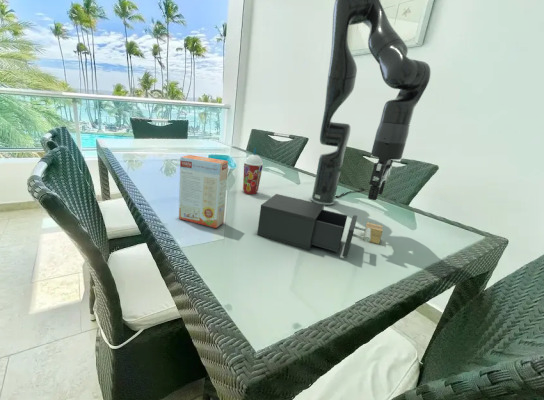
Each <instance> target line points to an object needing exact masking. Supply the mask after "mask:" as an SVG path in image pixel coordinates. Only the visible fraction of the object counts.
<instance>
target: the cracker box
mask: <svg viewBox="0 0 544 400" xmlns="http://www.w3.org/2000/svg"><path fill="white" fill-rule="evenodd" d="M179 160H180V161H179V197H178V198H179V201H178V202H179V203H178V219H180V220H183V221H186V222H190V223H194V224H198V225H202V226H206V227H209V228H212V229H217V228H219V227H220V226H221V225H223V224H224V221H225V209H226V195H227V185H228V184H227V181H228V168H229V161H228V160H224V159H220V158H219V159H218V158H212V157H207V156H200V155H193V154H187V155H184V156H180V157H179Z"/></svg>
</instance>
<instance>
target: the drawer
mask: <svg viewBox="0 0 544 400" xmlns="http://www.w3.org/2000/svg"><path fill="white" fill-rule="evenodd" d="M347 219H348V215H347V214H344V213H339V212H335V211H330V210H326V209H324V210H322V211H321V213H320V214H319V216H318V217H317V219H316V221H315V226H314V231H313V236H312V240H311V245H312V246H314V247H318V248H322V249H325V250H329V251H332V252H335V253H338V252H339V248H340V245H341V242H342V240H343V236H344V231H345V228H346V223H347ZM357 220H358V215H355V214H353V215H352V217H351V220H350V224H349V228H348V231H347V236H346V239H345V244H344V246H343V247H344V248H343V252H342V255H341V256H342V257H344V258H348V255H349V251H350V248H351V243H352V240H353V238H358V239H361V240H363V239H364V240H363V241H364V242H365V243H368V242H369V241H370V236H371V229H370V228H366V229H365V228H364V227H361V226H357V225H356V224H357ZM355 230H358V231H363V232H364V231H365V234H364V233H363V235H364V236H363V235H360V234H358V233H357V234H356V233H354V231H355ZM369 243H370V242H369Z"/></svg>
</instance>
